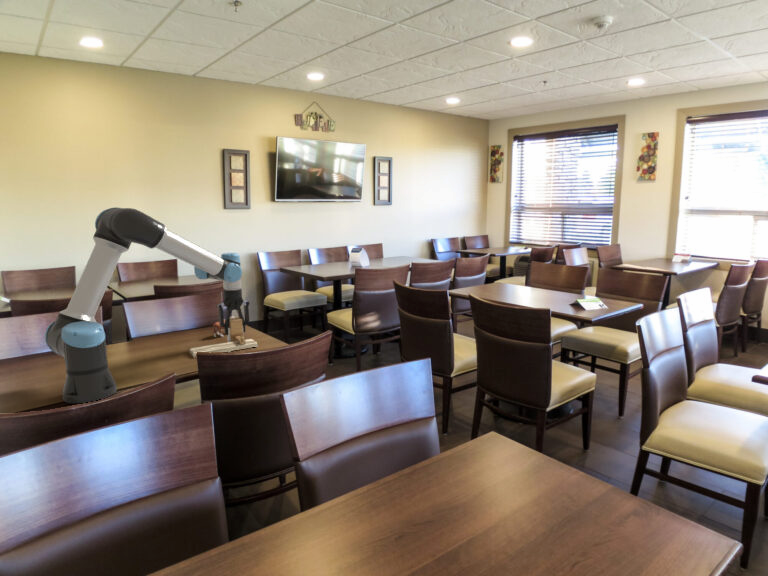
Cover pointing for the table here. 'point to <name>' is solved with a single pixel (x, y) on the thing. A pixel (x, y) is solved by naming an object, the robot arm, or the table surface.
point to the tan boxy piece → (236, 330)
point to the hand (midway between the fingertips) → (235, 340)
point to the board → (224, 347)
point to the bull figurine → (219, 328)
